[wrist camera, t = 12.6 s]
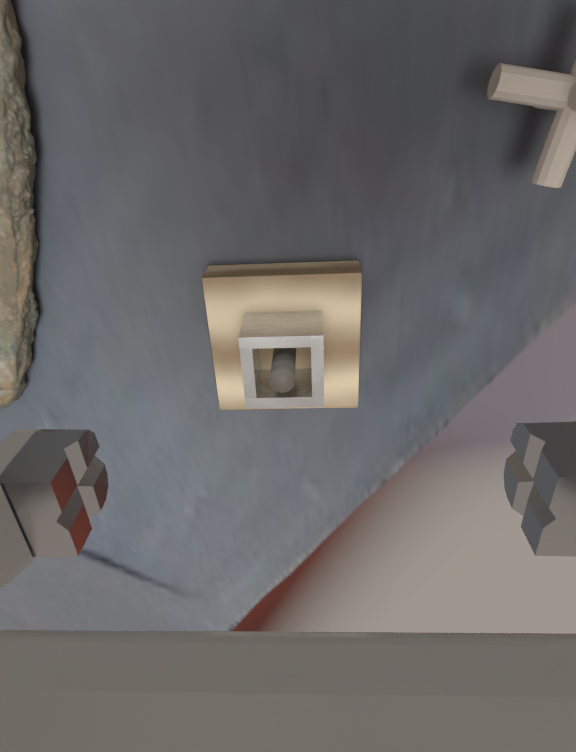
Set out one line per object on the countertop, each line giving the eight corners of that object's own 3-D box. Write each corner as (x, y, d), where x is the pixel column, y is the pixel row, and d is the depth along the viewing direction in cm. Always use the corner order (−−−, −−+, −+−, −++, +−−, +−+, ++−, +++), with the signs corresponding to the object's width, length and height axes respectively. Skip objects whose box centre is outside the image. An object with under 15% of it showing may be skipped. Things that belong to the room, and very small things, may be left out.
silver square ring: (245, 312, 39) (238, 337, 35) (322, 310, 38) (323, 335, 35) (251, 378, 42) (245, 408, 38) (322, 377, 41) (324, 406, 38)
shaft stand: (208, 265, 40) (186, 306, 33) (358, 260, 39) (369, 300, 32) (225, 391, 46) (209, 449, 39) (355, 388, 45) (364, 447, 38)
